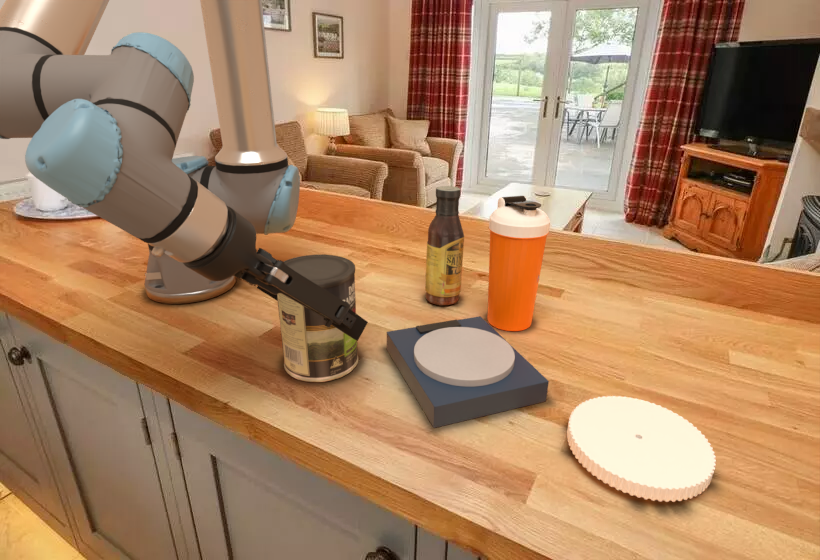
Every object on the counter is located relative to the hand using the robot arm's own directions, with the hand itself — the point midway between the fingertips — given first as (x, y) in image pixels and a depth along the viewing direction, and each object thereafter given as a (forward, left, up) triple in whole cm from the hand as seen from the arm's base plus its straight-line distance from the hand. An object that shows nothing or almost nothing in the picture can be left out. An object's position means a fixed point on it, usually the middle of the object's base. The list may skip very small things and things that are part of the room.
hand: (325, 314), depth 66 cm
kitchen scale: (+10, +16, -7) cm, 20 cm away
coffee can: (+1, -1, -7) cm, 7 cm away
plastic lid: (+30, +27, -7) cm, 41 cm away
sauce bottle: (-12, +23, -7) cm, 27 cm away
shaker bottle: (-1, +30, -7) cm, 31 cm away
